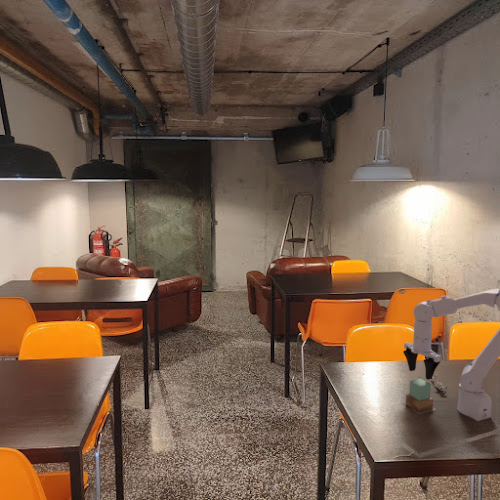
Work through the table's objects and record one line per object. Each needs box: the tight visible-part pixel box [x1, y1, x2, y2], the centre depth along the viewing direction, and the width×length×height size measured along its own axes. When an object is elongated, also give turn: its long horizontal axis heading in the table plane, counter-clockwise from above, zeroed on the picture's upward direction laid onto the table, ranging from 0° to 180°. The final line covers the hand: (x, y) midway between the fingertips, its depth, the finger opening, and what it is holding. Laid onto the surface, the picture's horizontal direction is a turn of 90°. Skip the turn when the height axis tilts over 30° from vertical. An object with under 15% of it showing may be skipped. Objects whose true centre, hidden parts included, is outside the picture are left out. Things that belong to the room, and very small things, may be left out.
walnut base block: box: [405, 393, 434, 412], centre depth 143 cm, size 6×6×4 cm
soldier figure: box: [431, 373, 448, 394], centre depth 158 cm, size 8×5×12 cm
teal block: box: [408, 378, 432, 401], centre depth 143 cm, size 5×5×5 cm
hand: (420, 374), depth 148 cm, fingers open, 7 cm apart
